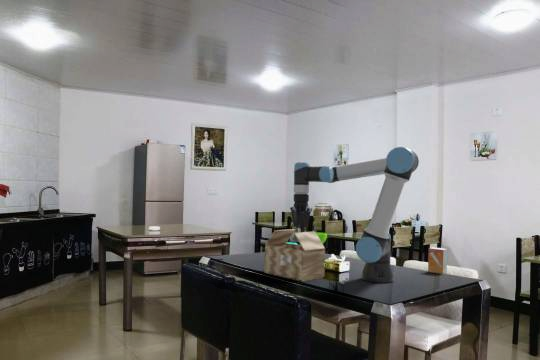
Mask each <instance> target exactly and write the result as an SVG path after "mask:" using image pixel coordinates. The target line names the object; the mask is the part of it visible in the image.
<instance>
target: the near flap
mask: <svg viewBox="0 0 540 360" xmlns="http://www.w3.org/2000/svg"><path fill="white" fill-rule="evenodd" d="M293 234H294V235H295V238H296V239H298V241H297V242H298V243H299V245H301V246H302V248H303V250H304V251H309V250H317V249H325V250H326V248H325V246H324V243H323V244H322V242H321V240H320V239H319V237H318V235H317V234H316V231H304V232H300V233H297V232H294V233H293Z"/></svg>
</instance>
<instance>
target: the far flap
mask: <svg viewBox="0 0 540 360" xmlns="http://www.w3.org/2000/svg"><path fill="white" fill-rule="evenodd" d="M295 231H296V228H295V229H294V228H292V229H277V230H275V229H274V230H273V232H272V233H271V235H270V237H269V238H268V240H267V241H266V243H265V245H272V244H283V243H287V242H289V240H290V239H291V237H292V235H293V234H294V233H295Z"/></svg>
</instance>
